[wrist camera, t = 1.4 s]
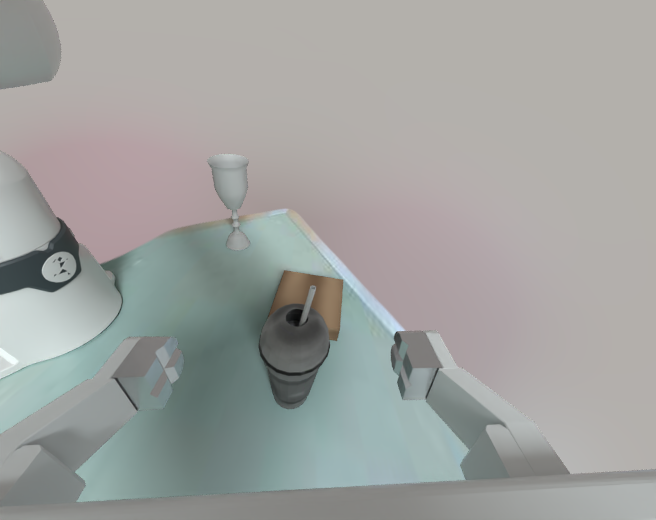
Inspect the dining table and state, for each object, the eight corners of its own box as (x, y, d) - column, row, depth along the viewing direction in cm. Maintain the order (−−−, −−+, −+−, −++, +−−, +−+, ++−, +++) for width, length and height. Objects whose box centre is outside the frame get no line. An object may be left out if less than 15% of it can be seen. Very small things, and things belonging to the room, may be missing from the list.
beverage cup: (281, 355, 37) (283, 245, 24) (326, 377, 35) (354, 271, 22) (250, 404, 31) (233, 295, 19) (303, 433, 30) (323, 333, 17)
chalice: (247, 256, 53) (239, 171, 41) (215, 250, 53) (199, 164, 41) (258, 236, 58) (254, 157, 47) (229, 232, 58) (218, 151, 47)
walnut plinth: (268, 329, 40) (267, 318, 38) (284, 281, 48) (284, 270, 46) (336, 340, 40) (339, 329, 38) (340, 291, 48) (343, 279, 46)
